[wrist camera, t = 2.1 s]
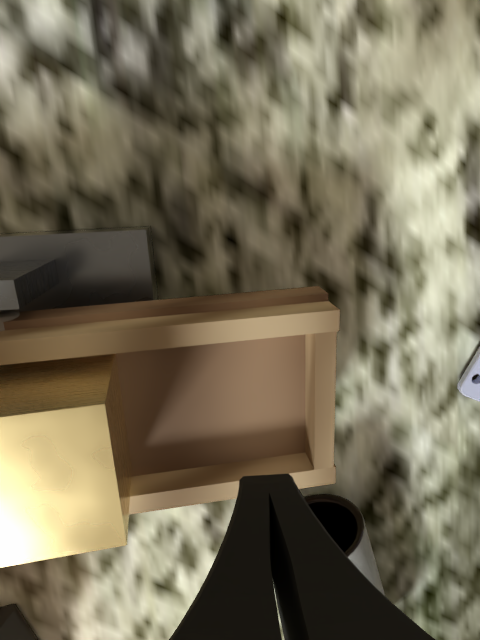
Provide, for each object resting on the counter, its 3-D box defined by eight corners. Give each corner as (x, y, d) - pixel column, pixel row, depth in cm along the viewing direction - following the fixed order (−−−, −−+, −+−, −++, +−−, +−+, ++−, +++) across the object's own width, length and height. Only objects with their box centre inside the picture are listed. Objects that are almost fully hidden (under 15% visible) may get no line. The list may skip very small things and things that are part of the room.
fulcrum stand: (150, 226, 19) (126, 243, 14) (177, 480, 23) (165, 559, 18) (-86, 238, 19) (-190, 259, 14) (-17, 491, 23) (-80, 574, 18)
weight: (115, 352, 16) (104, 403, 13) (131, 467, 18) (126, 545, 14) (-33, 368, 15) (-92, 428, 12) (-3, 488, 17) (-46, 575, 13)
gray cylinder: (305, 671, 25) (253, 534, 22) (357, 613, 28) (315, 480, 25) (369, 740, 22) (317, 587, 19) (423, 666, 24) (384, 518, 21)
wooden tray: (317, 283, 18) (340, 299, 16) (315, 455, 21) (335, 491, 18) (-380, 342, 15) (-483, 373, 12) (-280, 539, 17) (-349, 596, 15)
